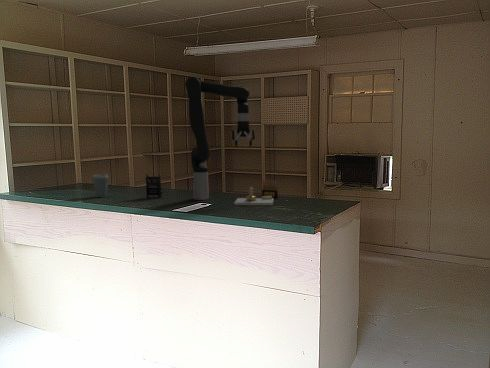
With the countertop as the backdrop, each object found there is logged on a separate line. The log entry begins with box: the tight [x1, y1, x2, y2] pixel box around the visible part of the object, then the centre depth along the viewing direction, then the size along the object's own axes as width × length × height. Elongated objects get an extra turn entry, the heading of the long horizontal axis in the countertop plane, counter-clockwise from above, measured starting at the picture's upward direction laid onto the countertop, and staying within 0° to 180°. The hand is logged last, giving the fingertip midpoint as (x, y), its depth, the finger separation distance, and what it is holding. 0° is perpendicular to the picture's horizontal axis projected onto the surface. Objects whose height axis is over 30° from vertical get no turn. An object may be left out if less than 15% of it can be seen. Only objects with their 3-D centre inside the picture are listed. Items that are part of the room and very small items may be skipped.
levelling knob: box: [245, 186, 257, 200], centre depth 259 cm, size 9×6×7 cm
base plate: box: [233, 195, 275, 206], centre depth 259 cm, size 22×15×3 cm
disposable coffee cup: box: [91, 173, 109, 198], centre depth 288 cm, size 11×11×15 cm
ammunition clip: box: [261, 178, 279, 200], centre depth 276 cm, size 11×2×12 cm, turn 63°
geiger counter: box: [145, 174, 163, 199], centre depth 283 cm, size 10×4×15 cm, turn 84°
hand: (243, 146), depth 275 cm, fingers open, 8 cm apart
